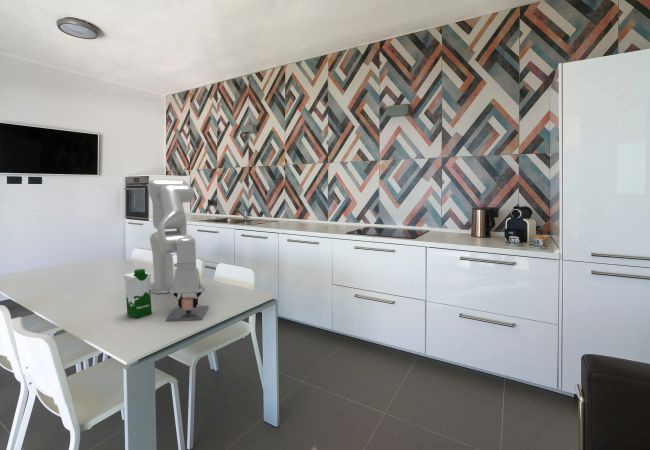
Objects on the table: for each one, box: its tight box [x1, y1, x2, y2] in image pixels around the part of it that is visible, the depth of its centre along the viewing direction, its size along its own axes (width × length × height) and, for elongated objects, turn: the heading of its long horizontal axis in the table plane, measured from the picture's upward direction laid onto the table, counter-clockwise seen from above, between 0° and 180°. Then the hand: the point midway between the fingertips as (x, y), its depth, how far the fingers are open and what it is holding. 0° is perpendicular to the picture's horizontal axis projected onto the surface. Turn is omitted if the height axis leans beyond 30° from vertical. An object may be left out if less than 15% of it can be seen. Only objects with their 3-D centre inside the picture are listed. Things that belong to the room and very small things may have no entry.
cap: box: [181, 295, 194, 310], centre depth 145 cm, size 5×5×4 cm
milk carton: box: [123, 268, 153, 320], centre depth 144 cm, size 9×9×20 cm
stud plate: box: [165, 304, 210, 322], centre depth 145 cm, size 14×14×4 cm
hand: (188, 306), depth 145 cm, fingers closed on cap, 5 cm apart
